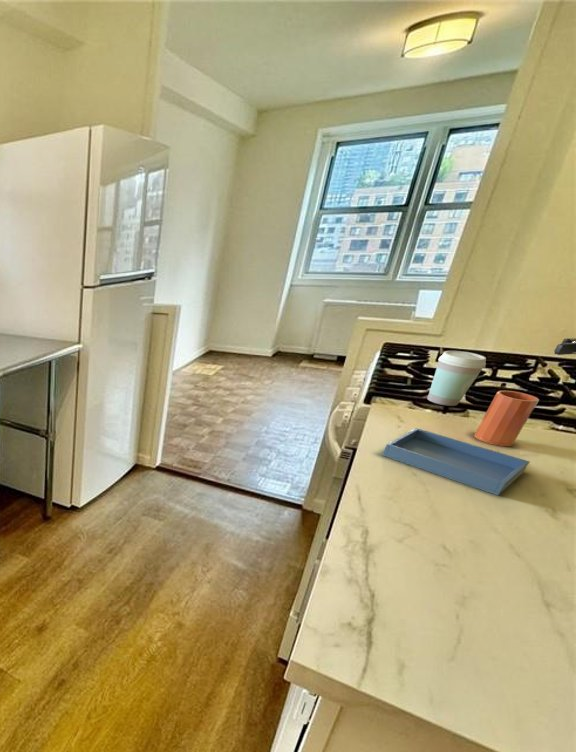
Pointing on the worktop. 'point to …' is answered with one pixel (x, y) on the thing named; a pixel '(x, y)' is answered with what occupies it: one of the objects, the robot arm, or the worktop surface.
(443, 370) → the coffee cup
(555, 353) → the robot arm
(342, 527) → the worktop surface
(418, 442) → the tray
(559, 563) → the worktop surface
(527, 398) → the tumbler
